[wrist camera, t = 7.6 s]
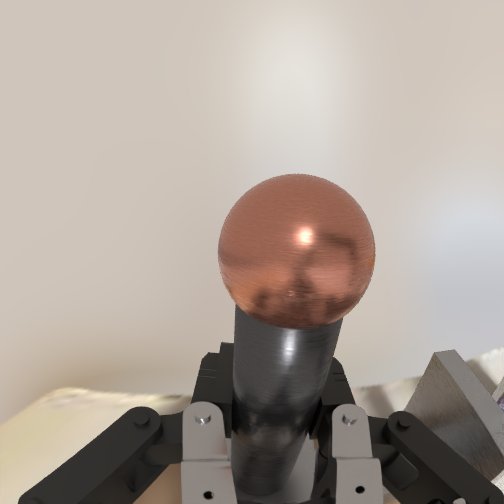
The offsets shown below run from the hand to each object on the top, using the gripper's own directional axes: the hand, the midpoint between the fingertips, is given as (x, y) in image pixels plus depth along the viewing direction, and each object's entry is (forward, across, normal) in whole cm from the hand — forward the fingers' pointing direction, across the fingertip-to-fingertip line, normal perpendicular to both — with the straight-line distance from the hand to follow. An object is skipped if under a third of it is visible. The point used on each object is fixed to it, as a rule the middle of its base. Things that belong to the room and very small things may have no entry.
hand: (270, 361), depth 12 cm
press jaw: (-3, -5, +9) cm, 10 cm away
